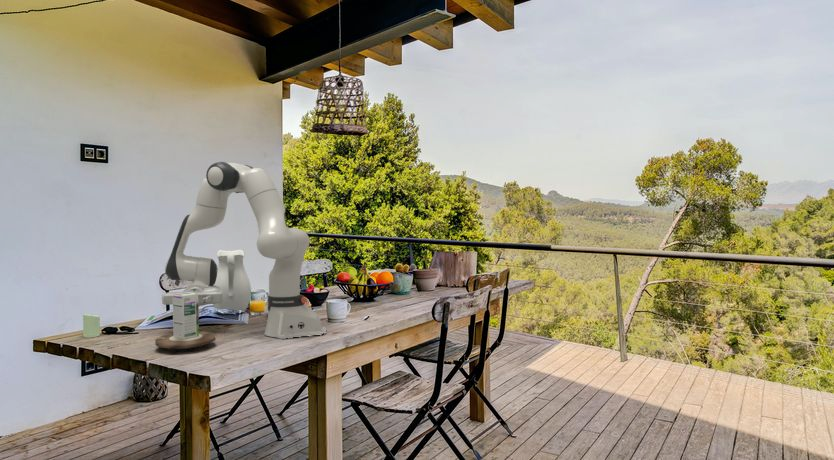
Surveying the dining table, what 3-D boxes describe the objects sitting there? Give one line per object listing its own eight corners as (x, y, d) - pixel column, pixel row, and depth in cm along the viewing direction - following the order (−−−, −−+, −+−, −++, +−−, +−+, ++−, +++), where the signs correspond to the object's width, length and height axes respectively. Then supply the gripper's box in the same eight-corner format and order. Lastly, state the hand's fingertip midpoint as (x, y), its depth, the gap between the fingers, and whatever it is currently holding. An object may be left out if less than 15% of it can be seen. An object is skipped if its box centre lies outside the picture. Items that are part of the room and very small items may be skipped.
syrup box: (183, 339, 162) (183, 295, 162) (172, 337, 166) (172, 293, 165) (199, 336, 167) (199, 292, 167) (188, 334, 170) (188, 291, 170)
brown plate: (219, 333, 177) (219, 329, 177) (210, 346, 160) (210, 342, 160) (163, 336, 173) (163, 332, 173) (148, 349, 156) (148, 345, 156)
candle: (95, 333, 184) (95, 311, 184) (102, 335, 181) (102, 313, 181) (80, 336, 180) (80, 313, 180) (87, 338, 177) (87, 315, 177)
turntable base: (205, 342, 172) (205, 337, 172) (199, 350, 163) (199, 345, 163) (173, 344, 170) (173, 339, 170) (165, 352, 160) (165, 346, 160)
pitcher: (212, 310, 231) (212, 249, 231) (251, 308, 236) (251, 249, 236) (207, 320, 209) (207, 253, 208) (250, 318, 214) (250, 252, 213)
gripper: (165, 287, 188) (158, 293, 175) (224, 285, 194) (221, 291, 181) (165, 304, 188) (158, 311, 175) (224, 302, 194) (221, 308, 181)
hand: (190, 301), depth 178 cm, fingers open, 8 cm apart
